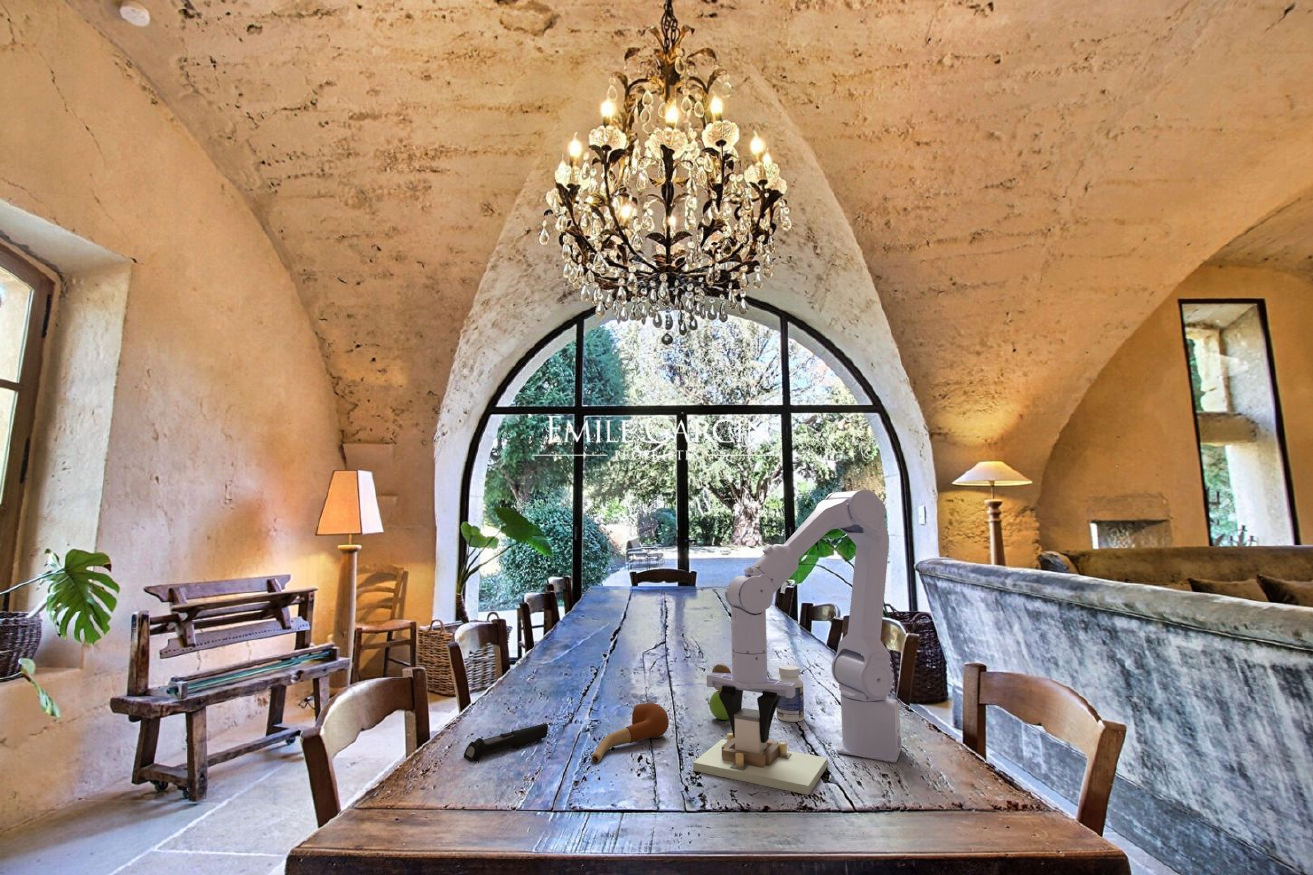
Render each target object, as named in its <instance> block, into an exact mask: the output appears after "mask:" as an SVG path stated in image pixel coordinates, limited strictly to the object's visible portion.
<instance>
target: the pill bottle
mask: <svg viewBox="0 0 1313 875" xmlns="http://www.w3.org/2000/svg"><path fill="white" fill-rule="evenodd" d="M778 674H779V676H778V677H777V678H776V679H777V680H781V681H786V682H791V683H795V696H794V697H793V698H786V696H781V699H780V701H779V703H778V705H777V707H776V710H775V714H776V717H777V719H779V720H780V721H783V722H790V723H797V722H798V721H799V722H801V721H803V720H805V719H804V718H805V709H804V708H805V702H804V682H803V680H802V678H800V677H799V676H800V667H799V666H795V665H789V664H785V665H779V666H778Z"/></svg>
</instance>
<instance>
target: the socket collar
mask: <svg viewBox="0 0 1313 875" xmlns="http://www.w3.org/2000/svg"><path fill="white" fill-rule="evenodd" d="M736 753H742V754H743V761H744V764H747V765H750V766H755V767H760V768H764V767H765V766H770V765H771V764H772V763H773V762H774V761H775V760H776V759H777V757H778V756H779V741H776V740H772V739H771V740H770V739H769V740H768V741H767V748H766V749H765V750H764V753H763V754H757V753H752V752H746V751H741V750H736V749H735V738H734V737H733V738H732V739H730V740H729V741H728V742H727V743H726V744H724V745H723V746H722V760H725V761H730V762H736Z"/></svg>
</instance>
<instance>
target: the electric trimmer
mask: <svg viewBox="0 0 1313 875" xmlns="http://www.w3.org/2000/svg"><path fill="white" fill-rule="evenodd" d="M548 730H549V724H548V723H546V722H545V723H541V724H537V725H533V726H529V727H524V728H520V729H516V730H511V731H510V732H505V733H500V735H496V736H495V735H494V736H493V737H488V738H484V739H483V738H481V737H478V738H476V739H475V740H474V741H470V743H469V744H468V745H467V747H466V748H465V750H464V752H463V758H464V759H465V760H467V761H468V762H471V763H472V762H476V763H477V762H479V761H480V759H481V758H485V757H488V756H492V755H494V754H497V753H498V754H499V753H500V752H504V751H507V750H510V749H514V750H515V749H517V750H518V749H520V748H523V747H526V746H529V745H530V744H532V743H533V744H534V743H535V742H538V741H540V740H542V739H545V738H546V737H547V735H548V734H549V733H548V732H549V731H548Z"/></svg>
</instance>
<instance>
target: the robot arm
mask: <svg viewBox="0 0 1313 875" xmlns="http://www.w3.org/2000/svg"><path fill="white" fill-rule="evenodd" d="M885 513H886V504H885V503H884V502H883V501H882V500H881V499H880V497H879V496H878V495H877V494H876V493H875V492H874V491H873V490H870V489H866V488H863V489H859V490H853V491H851V490H850V491H834V492H831V493H828V494H827V496H826V497H824V499H822V500H821V501H819V502H818V503H817V505H816V507H815V509H814V510H813V511H812V512H811V513H810V514H809V516H808V517H806V519H805V520H804V521H803V522H802V523H801V525H800V526H799V527H798V528H797V529H796V530H795V531H794V533H793V534H792V535H791V536H790V537H789V538H788V539H787V540H786V541H785V542H784V544H779V543H774V544H773V545H771V546H770V545H767V546H766V547H764V549H762V552H763V554H762V555H761V556H760V557H759V558H758V559H757V560H756V561H755V562H754V563H753V564H752V565H751V566H746V567H745V568H744V570H743V571H744V574H743V575H738V576H735V577H734V578H733V579H731V580H730V582H729V583H728V586H727V589H726V591H724V596H725V601H726V602H727V604H728V606H729V607H730V609H731V615H730V616H731V619H730V620H731V625H730V626H731V674H726V673H712V671H711V672H710V673H709V672H708V674H706V687H707V688H714V687H721V688H722V690H721V692H720V693H719V697H720V700H721V701H722V703H723V705H724V707H725V709H726V712H727V714H728V717H729V719H728V720H729V723H730V727H731V732H732V733H733V737H734V738H735V718H734V714H735V713H737V712H738V711H739V710H741V709H742V708H743V706H742V705H743V696H744V692H753V693H757V694H761V695H759V696H758V697H757V698H756V701H757V706H758V710H759V715H760V740H761V743H766V742H767V741H768V740H770V739H769V737H770V732H771V731H770V730H771V726H772V722H773V719H774V716H775V714H776V707H777V705H778V703H779V701H780V699H781V696H786V698H793V697H794V696H795V683H791V682H786V681H781V680H777V678H773V677H768V649H767V648H768V646H767V643H768V642H767V610H768V609H769V608H771V606H772V603H773V598H774V594H775V593H776V592H777V591H778V590H779V589H780V588H781V587H782V586H783V585H784V584H785V583H786V582H787V581H788V580H789V579H790V578H791V577H792V575H794V574H795V572H797V571H798V569H799V558H800V557H802V556H803V555H804V554H805V553H807V551H808V550H809V549H811V548H812V547H813V546H814V545H815V544H816V543H817V542H819V541H820V540H821V539H822V538H824V536H825V535H826V534H828V532H830V531H831V530H836V529H838V530H839V531H840V532H841V531H842V532H843V533H845V535H847V537H848V538H849V539H850V540H851V542H853V543H854V544H855V547H856V548H855V556H854V564H853V566H854V567H853V575H852V577H853V578H852V586H851V595H850V596H851V597H850V607H849V616H848V627H847V634H846V635H845V636H844V637H843V638H842V639H841V640H840V641H839V642H838V648H837V652H836V654H835V656H834V658H833V660H832V663H831V674H832V677H833V680H834V681H835V682H836V683H837V684H838V690H839V692H840V709H841V711H840V713H841V735H842V736H841V737H842V739H841V740H842V741H841V742H840V743H839V745H838V746H837V748H836V750H835V751H836V753H838V754H843V755H850V756H855V757H861V758H867V759H872V760H878V761H882V760H884V762H888V761H891V763H897V761H898V759H899V756H900V754H901V751H902V749H901V748H903V747H902V735H901V718H900V717H901V716H900V706H899V701H898V700H897V699H894V698H888V695H889V693H890V692H891V691H892V688H893V685H894V675H893V670H892V668H891V653H890V652H889V651H888V649H887V648H886V646H885V645H884V643H883V641H882V640H881V637H882V628H883V626H882V625H883V618H884V617H883V614H884V606H885V604H884V602H885V593H886V591H885V590H886V583H887V582H886V580H887V572H888V571H887V569H888V558H889V546H890V536H889V532H888V529H887V525H886V521H885V515H886V514H885ZM899 753H900V754H899Z"/></svg>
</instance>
